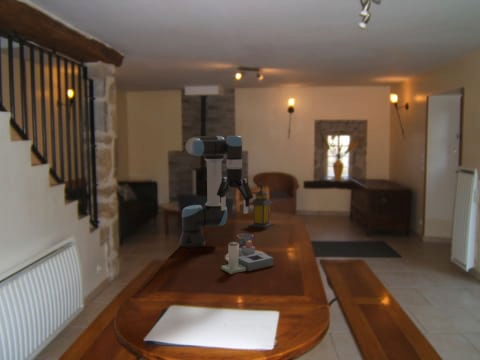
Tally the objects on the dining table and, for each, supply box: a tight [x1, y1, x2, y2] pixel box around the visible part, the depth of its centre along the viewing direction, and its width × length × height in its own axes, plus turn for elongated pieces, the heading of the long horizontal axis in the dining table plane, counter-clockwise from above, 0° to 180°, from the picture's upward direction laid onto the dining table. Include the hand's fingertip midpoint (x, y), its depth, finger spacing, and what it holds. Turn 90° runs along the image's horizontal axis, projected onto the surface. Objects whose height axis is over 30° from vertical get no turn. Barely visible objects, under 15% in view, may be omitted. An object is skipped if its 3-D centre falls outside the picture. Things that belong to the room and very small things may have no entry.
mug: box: [236, 233, 254, 251], centre depth 228 cm, size 12×9×11 cm
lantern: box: [248, 183, 274, 229], centre depth 297 cm, size 14×14×30 cm
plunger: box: [246, 240, 253, 248], centre depth 218 cm, size 3×3×4 cm
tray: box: [221, 264, 247, 275], centre depth 202 cm, size 9×9×2 cm
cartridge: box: [227, 241, 239, 270], centre depth 201 cm, size 5×5×13 cm
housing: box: [239, 245, 274, 272], centre depth 212 cm, size 18×15×7 cm
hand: (234, 211), depth 200 cm, fingers open, 13 cm apart
